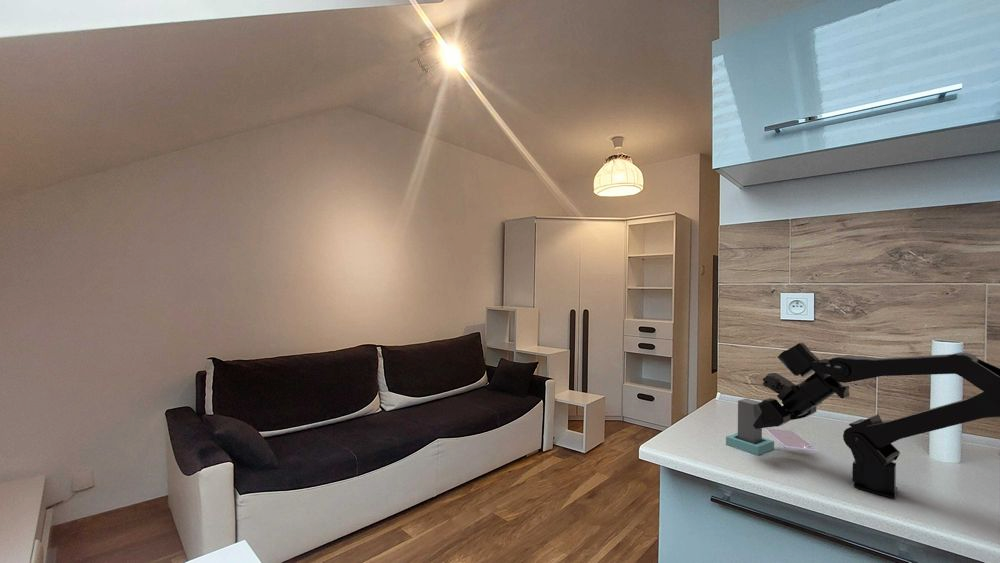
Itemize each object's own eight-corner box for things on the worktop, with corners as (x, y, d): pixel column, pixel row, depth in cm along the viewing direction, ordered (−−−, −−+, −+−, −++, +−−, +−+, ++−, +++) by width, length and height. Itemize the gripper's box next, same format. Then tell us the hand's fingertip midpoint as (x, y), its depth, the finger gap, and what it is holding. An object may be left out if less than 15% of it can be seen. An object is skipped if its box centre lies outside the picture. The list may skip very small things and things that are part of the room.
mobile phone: (792, 429, 124) (817, 448, 110) (792, 433, 124) (817, 452, 110) (764, 427, 126) (785, 445, 112) (764, 430, 126) (785, 449, 112)
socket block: (774, 449, 111) (774, 441, 111) (757, 455, 106) (757, 447, 106) (742, 438, 118) (742, 431, 118) (725, 444, 113) (725, 436, 113)
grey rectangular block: (761, 448, 111) (762, 402, 111) (753, 451, 109) (754, 404, 109) (745, 442, 115) (746, 398, 115) (737, 445, 113) (738, 400, 113)
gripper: (802, 361, 110) (759, 393, 119) (766, 368, 100) (722, 402, 109) (838, 397, 103) (789, 428, 112) (804, 408, 93) (753, 441, 102)
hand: (763, 424), depth 109 cm, fingers open, 9 cm apart
